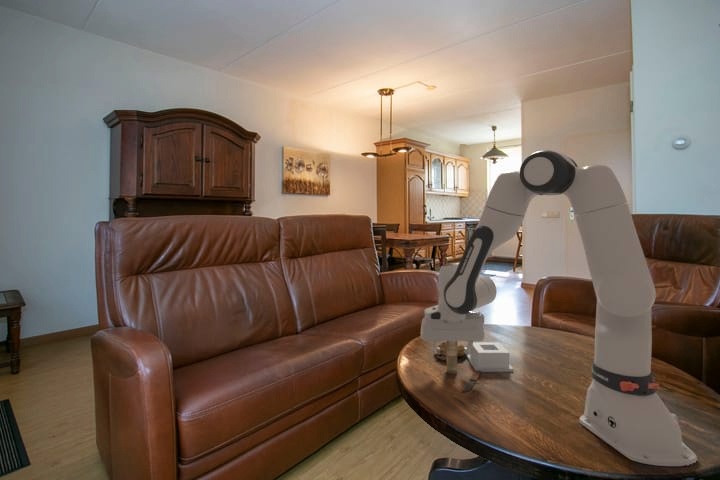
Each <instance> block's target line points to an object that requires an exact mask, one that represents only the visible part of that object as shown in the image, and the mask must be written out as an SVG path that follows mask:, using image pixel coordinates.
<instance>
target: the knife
mask: <svg viewBox="0 0 720 480" xmlns="http://www.w3.org/2000/svg"><path fill="white" fill-rule="evenodd" d="M482 373H483V372H482V371H476V370H475V371H474V372H473V373H472V374H471V377H470V378H469V381H468V382H467V384H466V386H465V387H464V388H463V390H462V391H461V393H466V392H469V391H470V390H471V389H472V388H473V387H474V385H476V384H480V382H479V381H478V380H479V378H480V375H482Z"/></svg>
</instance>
